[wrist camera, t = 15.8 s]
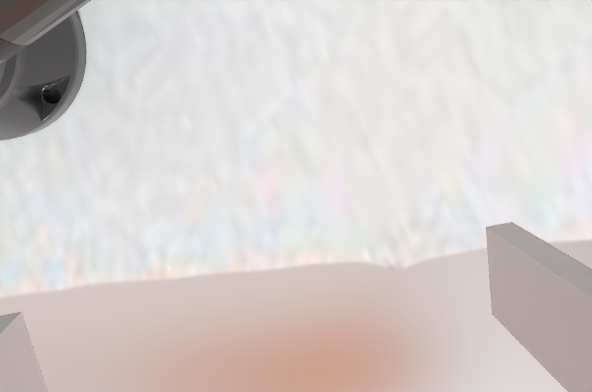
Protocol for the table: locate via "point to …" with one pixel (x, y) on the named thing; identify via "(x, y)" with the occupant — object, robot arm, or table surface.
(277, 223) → the table surface
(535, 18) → the table surface
